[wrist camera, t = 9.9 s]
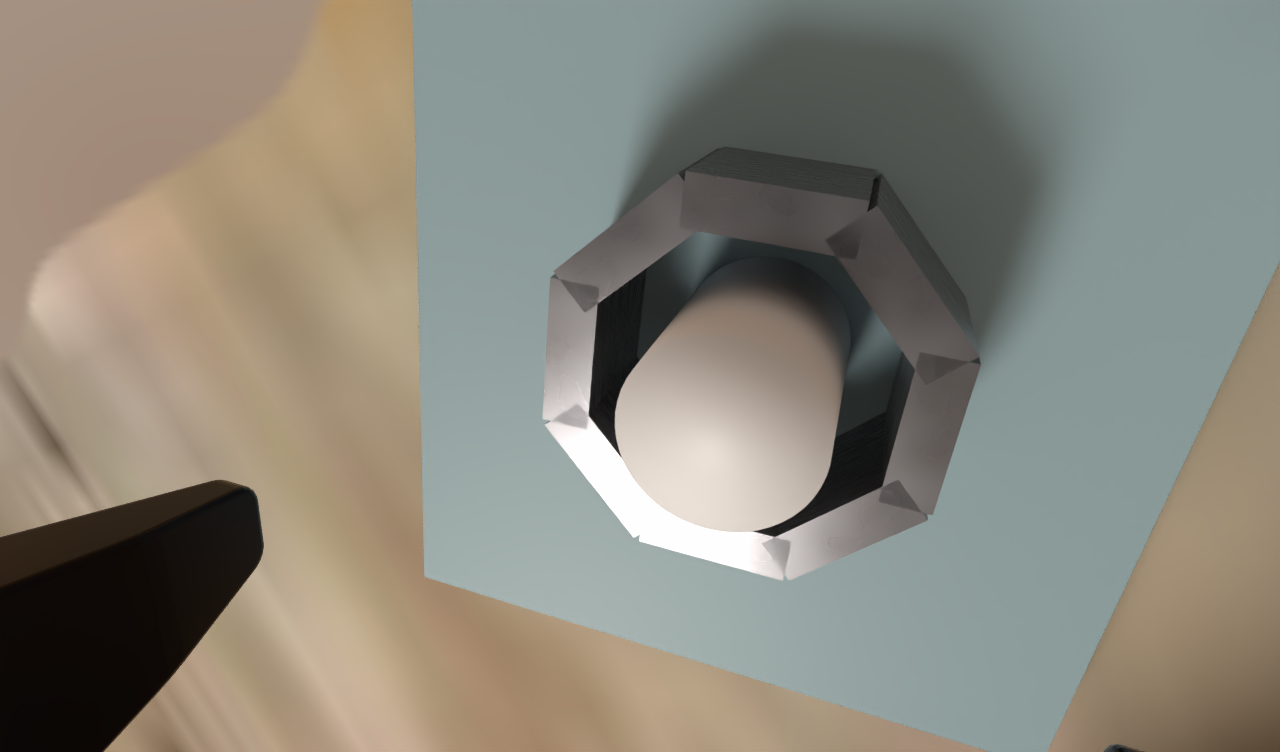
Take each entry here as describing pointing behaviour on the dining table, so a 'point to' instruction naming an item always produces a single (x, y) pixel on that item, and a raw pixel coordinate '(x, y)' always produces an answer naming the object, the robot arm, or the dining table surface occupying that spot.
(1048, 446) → the piston plate
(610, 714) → the dining table surface
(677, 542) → the ring
